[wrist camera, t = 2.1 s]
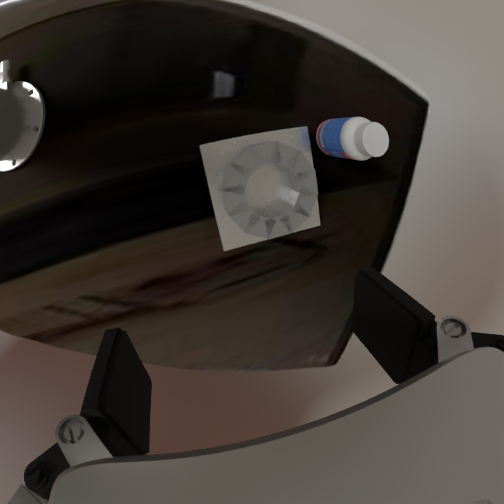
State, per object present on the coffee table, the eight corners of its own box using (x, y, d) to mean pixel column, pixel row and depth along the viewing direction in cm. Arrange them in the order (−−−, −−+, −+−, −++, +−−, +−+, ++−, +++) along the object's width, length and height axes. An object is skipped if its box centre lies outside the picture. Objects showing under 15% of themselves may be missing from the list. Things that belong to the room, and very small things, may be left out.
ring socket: (199, 145, 31) (201, 145, 28) (304, 126, 33) (317, 125, 30) (223, 249, 37) (227, 260, 34) (317, 223, 39) (330, 231, 36)
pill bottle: (317, 157, 35) (357, 164, 27) (312, 119, 33) (353, 115, 25) (349, 154, 36) (394, 162, 28) (346, 118, 34) (391, 116, 25)
